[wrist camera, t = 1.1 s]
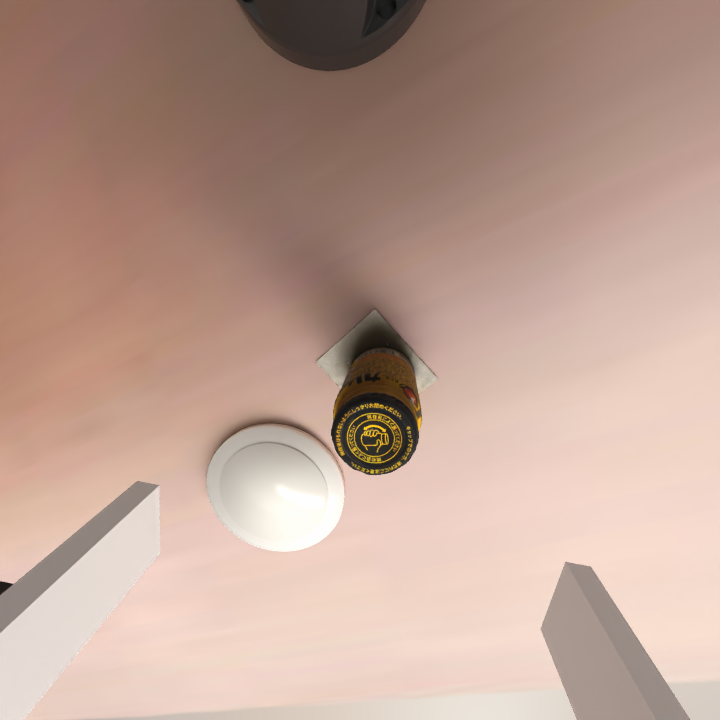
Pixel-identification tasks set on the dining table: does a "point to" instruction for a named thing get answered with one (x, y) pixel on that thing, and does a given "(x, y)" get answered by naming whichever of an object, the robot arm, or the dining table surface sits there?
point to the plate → (276, 487)
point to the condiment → (376, 396)
